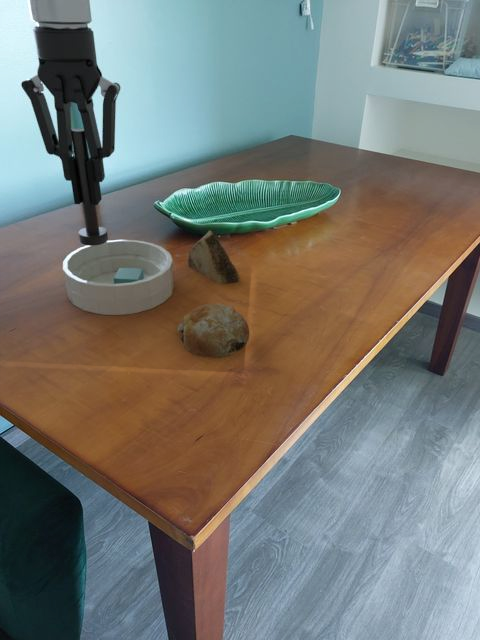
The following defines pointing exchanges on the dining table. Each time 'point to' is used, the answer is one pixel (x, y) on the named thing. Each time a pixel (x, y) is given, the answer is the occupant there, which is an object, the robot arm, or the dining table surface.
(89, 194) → the stirrer
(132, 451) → the dining table surface
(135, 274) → the block
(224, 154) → the dining table surface
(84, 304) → the bowl
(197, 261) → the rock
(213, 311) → the bread roll
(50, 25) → the robot arm
